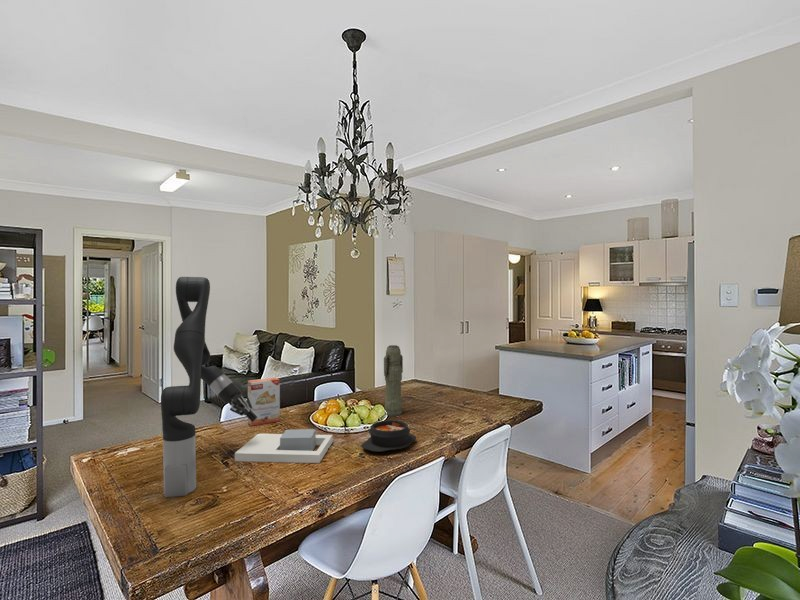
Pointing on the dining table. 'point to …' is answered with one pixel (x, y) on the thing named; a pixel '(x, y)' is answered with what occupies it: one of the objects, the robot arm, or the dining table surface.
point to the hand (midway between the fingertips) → (255, 419)
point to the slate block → (298, 440)
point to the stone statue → (393, 380)
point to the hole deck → (269, 450)
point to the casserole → (388, 436)
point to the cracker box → (264, 400)
